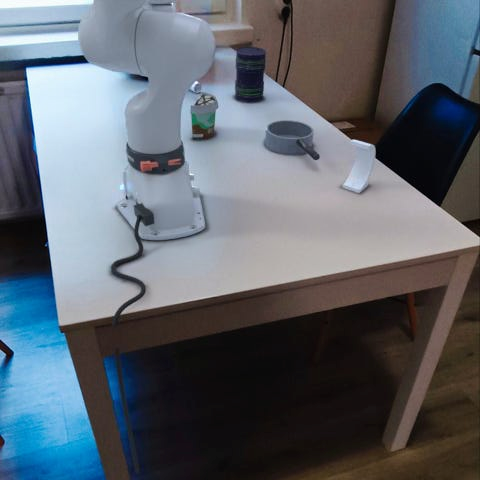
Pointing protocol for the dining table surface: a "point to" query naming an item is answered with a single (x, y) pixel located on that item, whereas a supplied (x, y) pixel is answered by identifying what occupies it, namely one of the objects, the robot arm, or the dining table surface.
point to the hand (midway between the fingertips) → (157, 51)
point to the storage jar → (250, 74)
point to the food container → (203, 116)
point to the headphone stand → (361, 166)
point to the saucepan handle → (308, 149)
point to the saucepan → (288, 136)
